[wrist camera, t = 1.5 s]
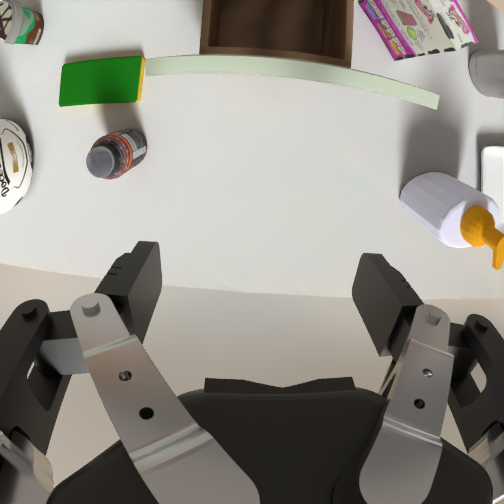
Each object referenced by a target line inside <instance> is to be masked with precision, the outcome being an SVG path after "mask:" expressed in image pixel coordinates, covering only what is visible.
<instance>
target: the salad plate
mask: <svg viewBox="0 0 504 504" xmlns="http://www.w3.org/2000/svg"><path fill="white" fill-rule="evenodd" d="M481 192H482V193H483V194H485V195H487V196H489V197H490V198H492V199H493V200H494V201H495V203H496V204H497V205H498V207H499V215H500V217H499V220H498V223H497V226H496V227H495V228H496V229H497V230H499V231H500V232H502V233H503V234H504V146H486V147H484V148H483V149H482V152H481ZM485 246H488V245H487V244H486V245H485ZM483 247H484V246H483ZM477 248H481V247H477Z"/></svg>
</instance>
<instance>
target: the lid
mask: <svg viewBox="0 0 504 504" xmlns="http://www.w3.org/2000/svg"><path fill="white" fill-rule="evenodd" d="M198 73H221V74H250V75H265V76H277V77H287V78H296V79H304V80H311V81H318V82H325V83H331V84H336V85H342V86H347V87H352V88H357V89H362V90H367V91H371V92H375V93H380V94H384V95H388V96H392V97H395V98H399V99H403V100H406V101H410V102H413V103H416V104H420V105H423V106H426V107H429V108H432V109H435V110H437V107H438V102H439V97H440V95H438V94H435V93H432V92H430V91H427V90H424V89H421V88H418V87H415V86H412V85H409V84H406V83H403V82H400V81H396V80H393V79H389V78H386V77H382V76H379V75H375V74H371V73H367V72H363V71H359V70H354V69H350V68H345V67H340V66H334V65H329V64H323V63H317V62H310V61H303V60H295V59H287V58H277V57H266V56H251V55H222V54H205V55H182V56H169V57H159V58H150V59H145V75H146V76H155V75H170V74H198Z"/></svg>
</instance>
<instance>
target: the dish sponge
mask: <svg viewBox="0 0 504 504" xmlns="http://www.w3.org/2000/svg"><path fill="white" fill-rule="evenodd" d="M144 66H145V59H144V58H143V57H140V56H130V57H116V58H105V59H96V60H88V61H81V62H74V63H68V64H64V65H63V66H62V74H61V84H60V96H59V105H60V107H62V106H72V105H84V104H100V103H130V102H139V101H140V100H141V92H142V83H143V74H144Z"/></svg>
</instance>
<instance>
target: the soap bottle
mask: <svg viewBox="0 0 504 504" xmlns="http://www.w3.org/2000/svg"><path fill="white" fill-rule="evenodd" d="M400 202H401V205H402V208H403V209H404V210H405V211H407V212H408V213H409V214H410V215H411V216H413V217H414V218H415V219H416V220H418V221H419V222H420V223H421V224H422V225H424V226H425V227H426V228H427V229H428V230H429V231H431V232H432V233H433V234H434V235H435V236H436V237H437V238H439V239H440V240H441V241H442V242H443V243H444V244H445V245H447V246H451V247H455V248H463V247H470V246H474V247H483V246H485V245H486V244H487V245H488V246H489V247H490V248H492V249H493V265H492V267H493V268H495V269H496V270H498V269H500V268H501V266H502V263H503V260H504V234H503V233H502V232H500V231H499V230H497V229H496V228H495V227H496V226H497V223H498V220H499V217H500V215H499V207H498V205H497V204H496V203H495V201H494V200H493V199H492V198H490V197H489V196H487V195H485V194H483V193H482V192H480V191H478V190H476V189H474V188H473V187H471V186H469V185H467V184H465V183H463V182H461V181H459V180H457V179H455V178H453V177H451V176H449V175H447V174H444V173H442V172H429V173H425V174H422V175H418V176H417V177H415V178H413V179H412V180H410V181H409V182H408V183H407V184H406V185H405V187H404V188H403V189H402V191H401V195H400Z"/></svg>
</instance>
